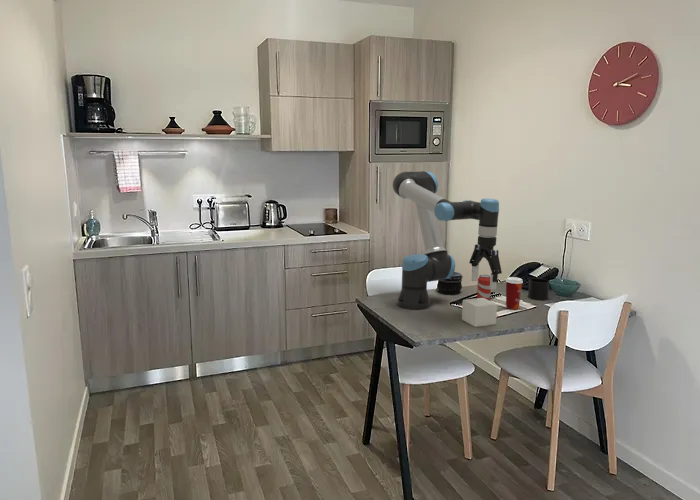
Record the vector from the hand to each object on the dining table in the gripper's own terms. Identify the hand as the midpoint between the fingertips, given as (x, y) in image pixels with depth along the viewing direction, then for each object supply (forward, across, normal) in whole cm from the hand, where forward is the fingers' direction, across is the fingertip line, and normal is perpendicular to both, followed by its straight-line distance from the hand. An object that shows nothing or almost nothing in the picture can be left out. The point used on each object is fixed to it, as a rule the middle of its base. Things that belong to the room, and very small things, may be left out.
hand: (483, 284), depth 225 cm
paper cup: (+16, +10, -24) cm, 30 cm away
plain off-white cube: (+15, -3, +3) cm, 16 cm away
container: (+16, +44, -10) cm, 48 cm away
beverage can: (+16, +26, -19) cm, 36 cm away
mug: (+16, +21, -48) cm, 55 cm away
